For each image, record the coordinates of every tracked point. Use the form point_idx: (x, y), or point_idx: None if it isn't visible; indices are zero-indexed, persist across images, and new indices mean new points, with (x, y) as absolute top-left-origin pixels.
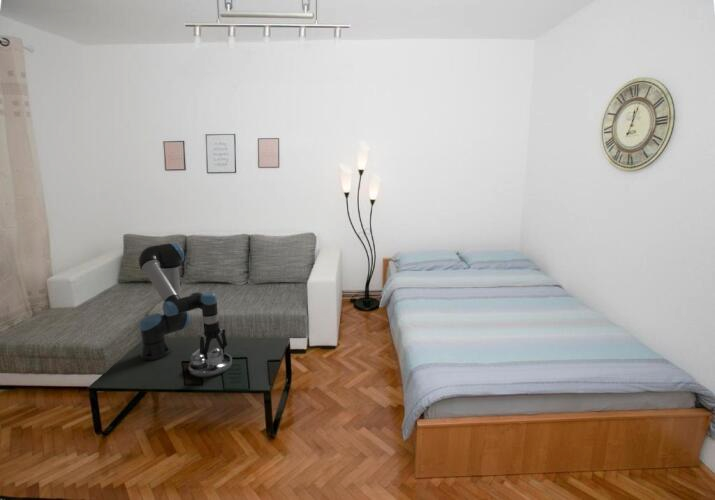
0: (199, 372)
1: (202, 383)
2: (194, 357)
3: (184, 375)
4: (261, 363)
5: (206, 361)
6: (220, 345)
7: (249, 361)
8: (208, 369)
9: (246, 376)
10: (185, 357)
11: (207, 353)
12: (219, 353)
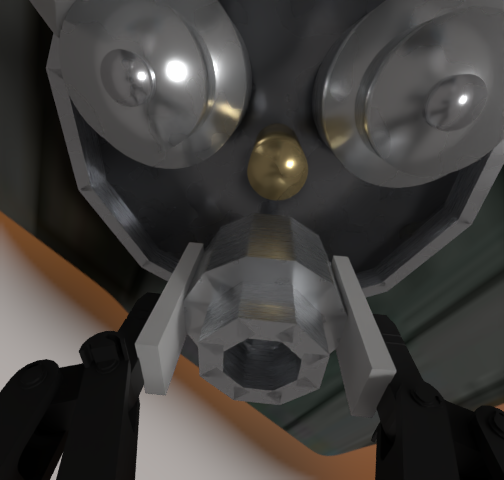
0: (125, 242)
1: (135, 291)
2: (66, 65)
3: (43, 95)
4: (496, 357)
5: (181, 262)
6: (381, 474)
7: (496, 294)
8: (216, 214)
9: (334, 385)
10: None
11: (152, 379)
12: (333, 325)
